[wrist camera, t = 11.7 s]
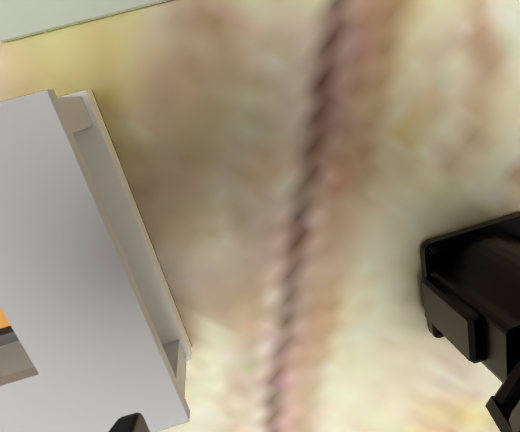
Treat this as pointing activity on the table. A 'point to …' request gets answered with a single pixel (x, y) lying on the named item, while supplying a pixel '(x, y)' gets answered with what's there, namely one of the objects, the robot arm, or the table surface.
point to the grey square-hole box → (79, 280)
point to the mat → (57, 14)
